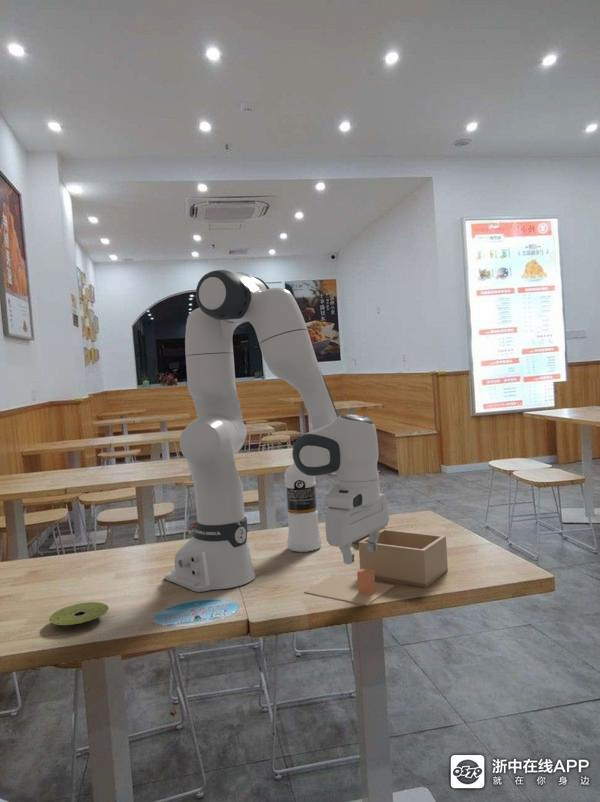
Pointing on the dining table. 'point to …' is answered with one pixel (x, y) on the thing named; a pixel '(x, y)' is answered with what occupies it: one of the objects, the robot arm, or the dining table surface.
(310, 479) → the vodka
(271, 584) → the dining table surface
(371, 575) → the box lid
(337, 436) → the robot arm
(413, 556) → the brown carton
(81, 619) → the green disc
